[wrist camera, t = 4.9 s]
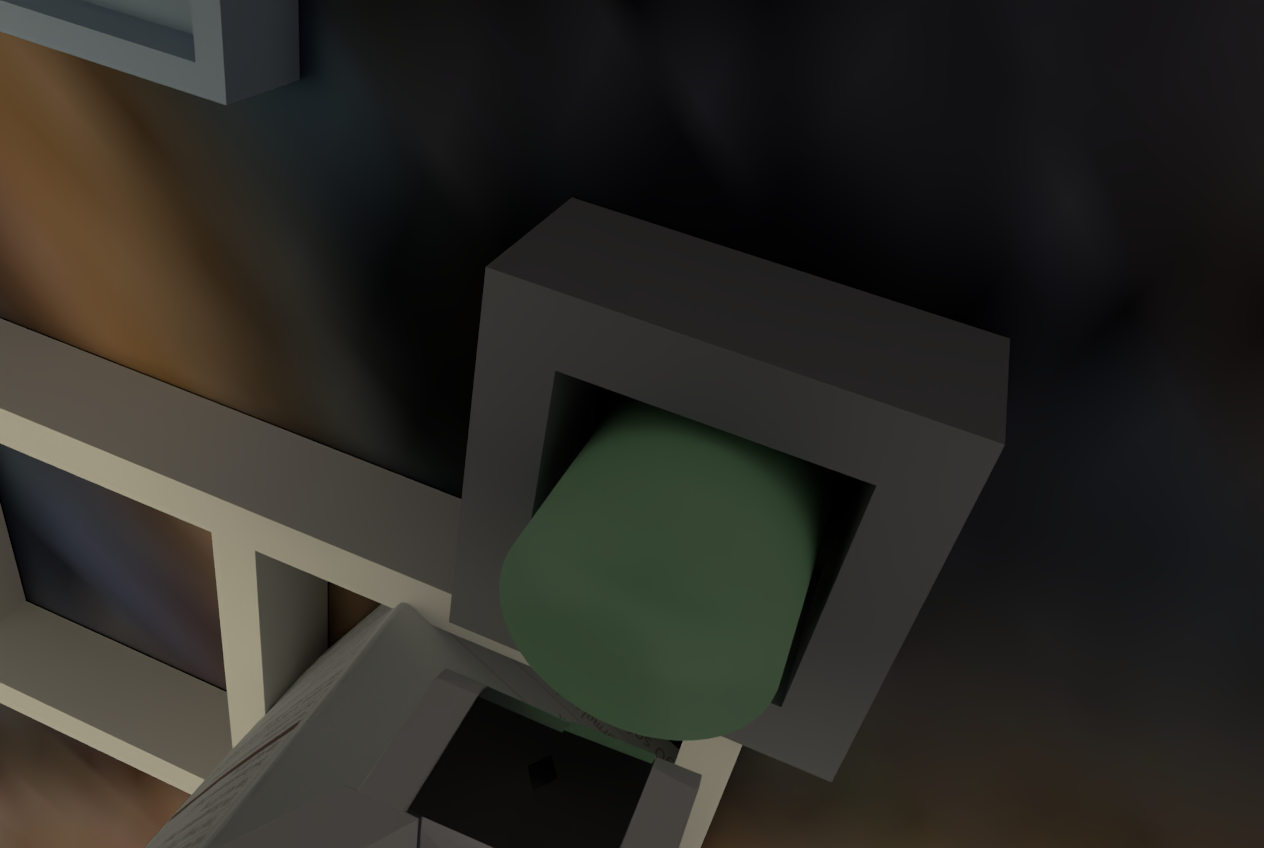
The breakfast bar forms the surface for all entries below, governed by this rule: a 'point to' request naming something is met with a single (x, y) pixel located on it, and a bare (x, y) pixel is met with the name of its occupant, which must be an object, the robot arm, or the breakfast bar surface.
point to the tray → (172, 40)
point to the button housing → (736, 428)
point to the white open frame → (222, 562)
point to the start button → (667, 574)
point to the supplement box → (352, 724)
